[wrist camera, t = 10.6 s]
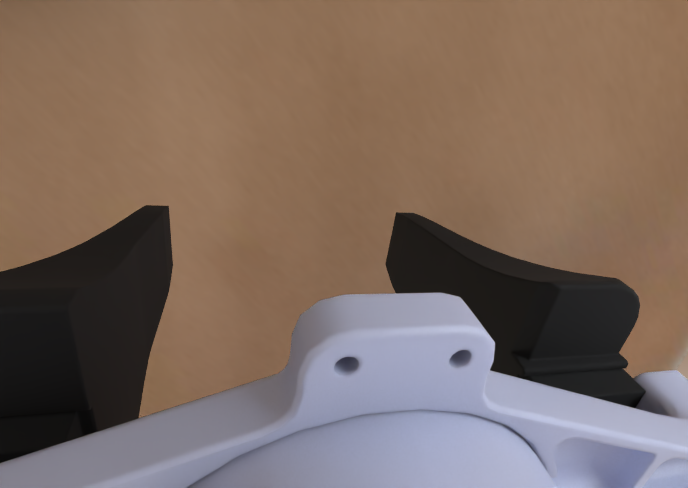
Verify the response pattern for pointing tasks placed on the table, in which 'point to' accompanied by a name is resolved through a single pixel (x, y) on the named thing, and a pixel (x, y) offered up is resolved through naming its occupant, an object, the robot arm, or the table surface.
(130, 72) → the table surface
